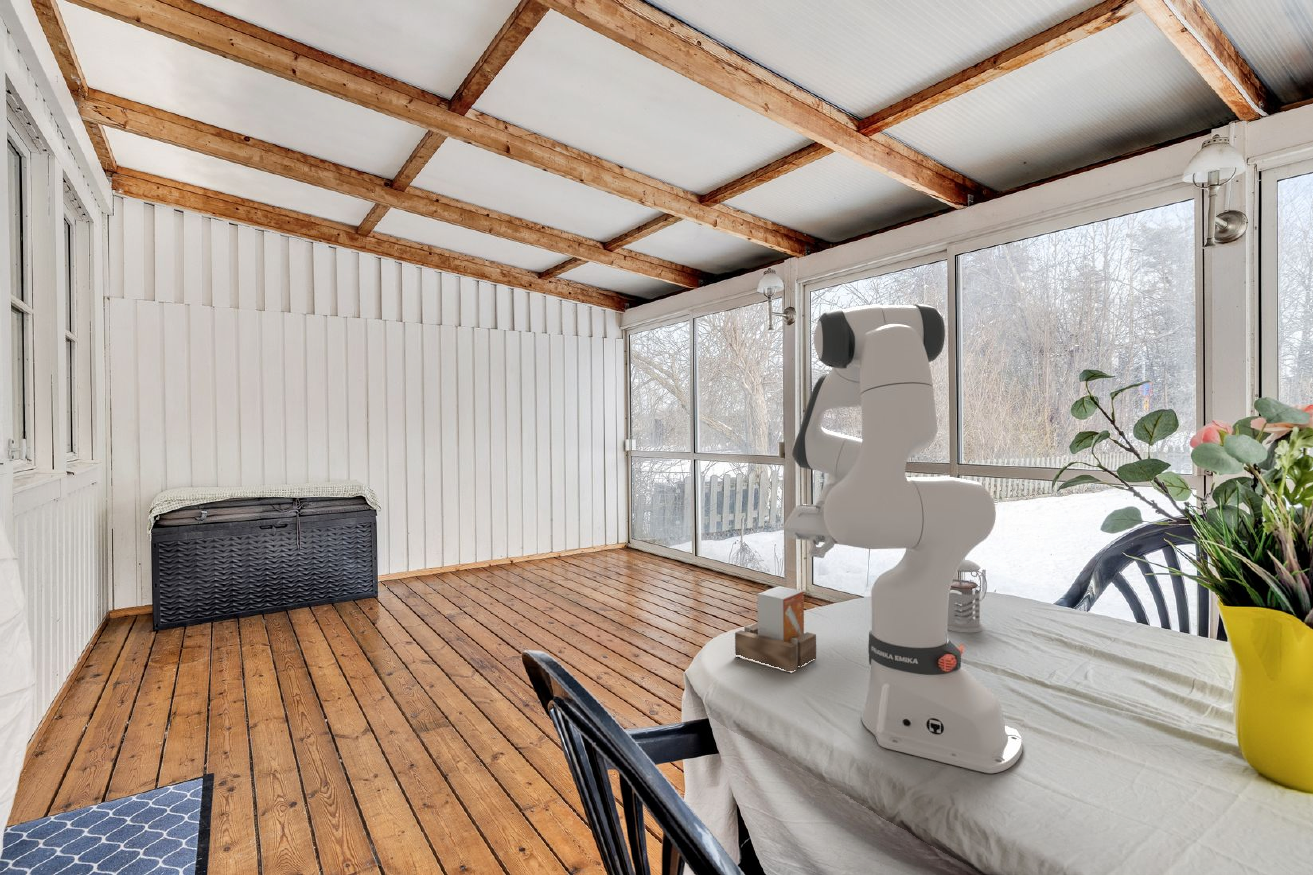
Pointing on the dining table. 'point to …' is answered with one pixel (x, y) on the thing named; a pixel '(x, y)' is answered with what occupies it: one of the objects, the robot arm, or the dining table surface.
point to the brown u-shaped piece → (775, 648)
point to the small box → (781, 613)
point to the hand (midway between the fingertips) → (815, 555)
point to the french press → (965, 602)
